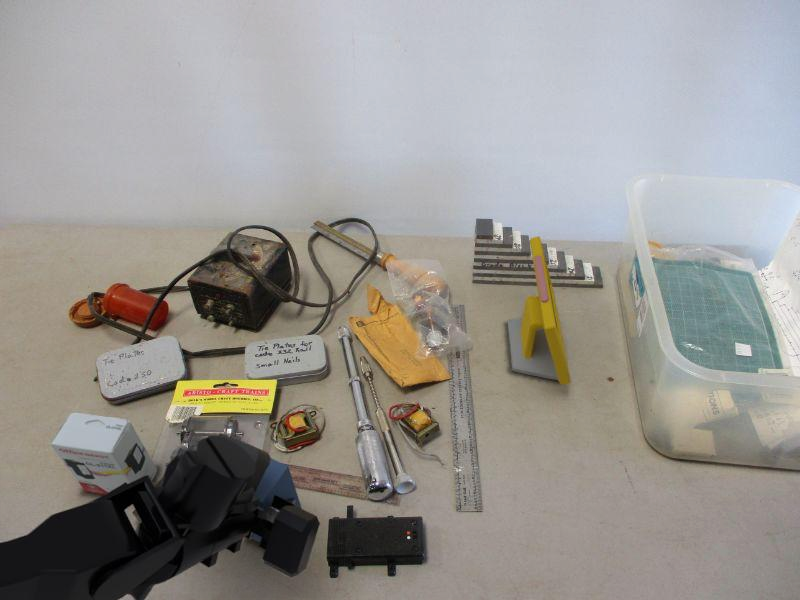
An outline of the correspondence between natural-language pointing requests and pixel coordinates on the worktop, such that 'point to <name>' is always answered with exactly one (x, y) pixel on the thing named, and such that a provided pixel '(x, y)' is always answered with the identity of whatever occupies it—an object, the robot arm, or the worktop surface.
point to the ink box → (102, 452)
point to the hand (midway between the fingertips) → (275, 493)
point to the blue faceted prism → (275, 487)
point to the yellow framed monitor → (539, 329)
